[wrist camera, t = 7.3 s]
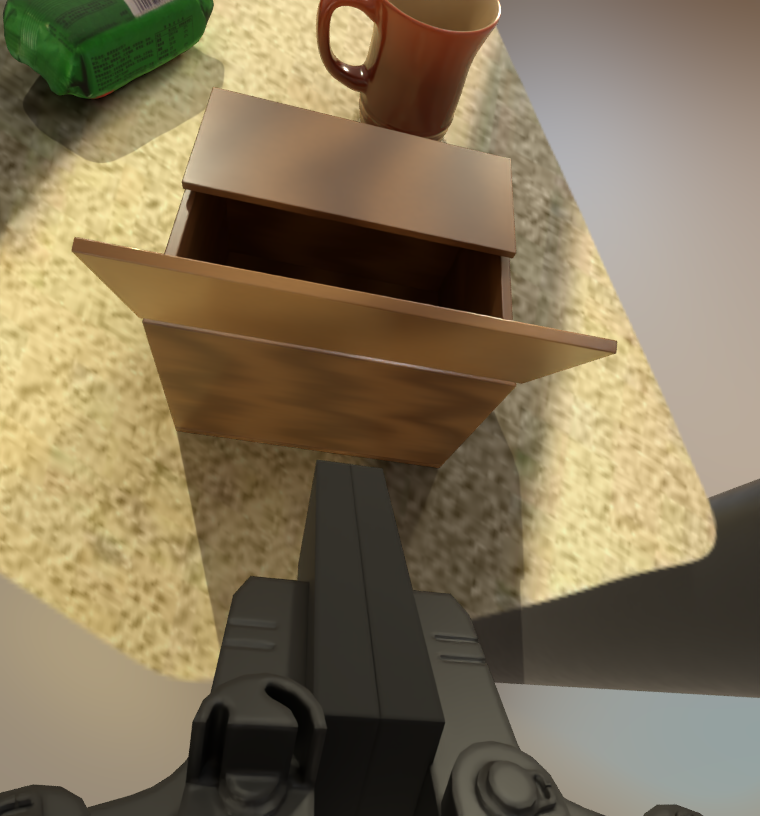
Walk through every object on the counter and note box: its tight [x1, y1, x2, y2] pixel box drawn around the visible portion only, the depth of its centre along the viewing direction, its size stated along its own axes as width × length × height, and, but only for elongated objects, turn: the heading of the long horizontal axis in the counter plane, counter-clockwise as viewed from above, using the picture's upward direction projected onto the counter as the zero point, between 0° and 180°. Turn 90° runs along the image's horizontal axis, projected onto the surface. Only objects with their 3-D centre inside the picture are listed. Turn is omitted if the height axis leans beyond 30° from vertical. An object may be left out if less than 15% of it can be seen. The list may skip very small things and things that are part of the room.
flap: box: [72, 237, 617, 384], centre depth 18 cm, size 15×6×1 cm
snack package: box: [3, 0, 214, 99], centre depth 39 cm, size 7×16×5 cm, turn 144°
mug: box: [316, 0, 501, 142], centre depth 39 cm, size 12×9×10 cm
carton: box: [142, 87, 516, 468], centre depth 29 cm, size 15×13×11 cm
